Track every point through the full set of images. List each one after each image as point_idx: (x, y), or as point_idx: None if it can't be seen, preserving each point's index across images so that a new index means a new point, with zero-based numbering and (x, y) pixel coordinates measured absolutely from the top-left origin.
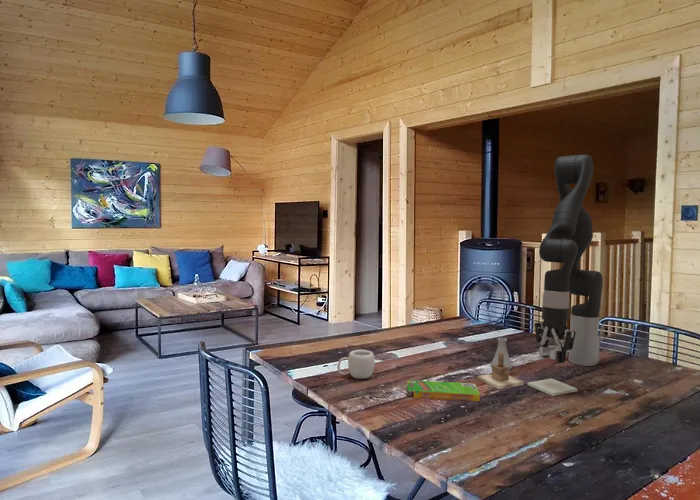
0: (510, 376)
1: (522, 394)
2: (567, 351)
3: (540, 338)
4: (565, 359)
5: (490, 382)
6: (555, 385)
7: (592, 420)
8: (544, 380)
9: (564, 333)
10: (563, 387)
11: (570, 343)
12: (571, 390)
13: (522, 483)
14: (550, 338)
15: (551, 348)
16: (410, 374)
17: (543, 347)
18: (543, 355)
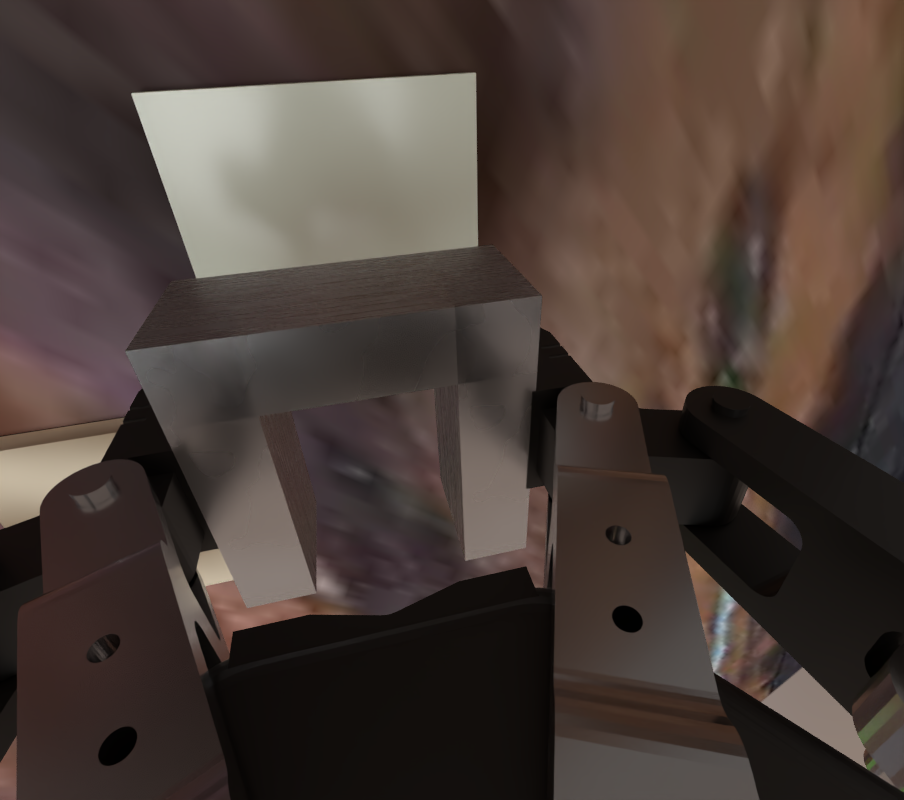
0: (84, 446)
1: (393, 481)
2: (527, 282)
3: (2, 665)
4: (554, 341)
5: (213, 583)
6: (347, 218)
7: (779, 362)
8: (199, 224)
9: (808, 761)
10: (410, 186)
11: (800, 490)
12: (474, 155)
13: (788, 659)
14: (188, 593)
15: (270, 430)
16: (7, 790)
17: (300, 580)
18: (311, 490)
